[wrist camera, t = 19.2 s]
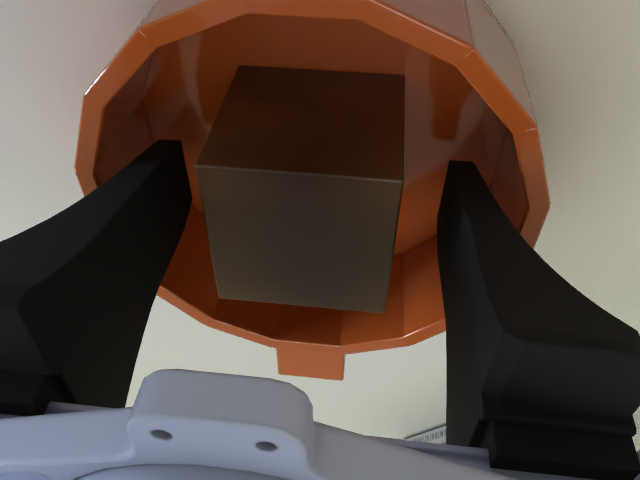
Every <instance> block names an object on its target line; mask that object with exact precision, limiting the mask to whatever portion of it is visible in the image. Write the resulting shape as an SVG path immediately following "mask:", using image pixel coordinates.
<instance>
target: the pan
mask: <svg viewBox="0 0 640 480" xmlns="http://www.w3.org/2000/svg"><path fill="white" fill-rule="evenodd" d="M238 66H255V67H272V68H288V69H304V70H321V71H337V72H353V73H369V74H386V75H402V76H405V127H404V184H403V191H402V198H401V205H400V212H399V219H398V226H397V234H396V241H395V248H394V255H393V262H392V269H391V276H390V283H389V290H388V297H387V304H386V311H385V313H375V312H364V311H354V310H343V309H332V308H321V307H311V306H300V305H289V304H278V303H268V302H257V301H246V300H235V299H225V298H219V295H218V289H217V284H216V279H215V273H214V268H213V262H212V257H211V252H210V246H209V241H208V236H207V230H206V225H205V220H204V214H203V209H202V204H201V198H200V193H199V188H198V182H197V177H196V172H195V163H196V161H197V159H198V156H199V154H200V152H201V149H202V147H203V145H204V143H205V140H206V138H207V136H208V134H209V131H210V129H211V127H212V125H213V122H214V120H215V118H216V116H217V113H218V111H219V109H220V107H221V104H222V102H223V100H224V98H225V95H226V93H227V91H228V89H229V86H230V84H231V82H232V80H233V77H234V75H235V73H236V71H237V68H238ZM159 139H163V140H177V141H181V143H182V148H183V153H184V158H185V163H186V168H187V173H188V178H189V183H190V188H191V193H192V198H193V199H192V203H191V207H190V211H189V215H188V218H187V222H186V225H185V229H184V231H183V234H182V236H181V239H180V241H179V243H178V246H177V248H176V250H175V252H174V255H173V257H172V259H171V262H170V264H169V266H168V268H167V271H166V273H165V275H164V278H163V280H162V282H161V284H160V287H159V289H158V291H157V294H156V295H157V296H159V297H161V298H162V299H164V300H165V301H167V302H169V303H170V304H172V305H173V306H175V307H177V308H178V309H180V310H181V311H183V312H185V313H186V314H188V315H189V316H191V317H193V318H194V319H196V320H197V321H199V322H201V323H202V324H204V325H207V326H208V327H211V328H214V329H217V330H220V331H223V332H226V333H229V334H232V335H235V336H238V337H241V338H244V339H247V340H250V341H253V342H256V343H259V344H262V345H265V346H268V347H273V348H276V353H277V365H278V373H279V374H282V375H292V376H302V377H312V378H321V379H331V380H343V378H344V368H345V357H346V354H353V353H360V352H367V351H375V350H382V349H390V348H397V347H405V346H410V345H414V344H416V343H418V342H421V341H423V340H425V339H428V338H430V337H433V336H435V335H437V334H440V333H442V332H444V331H446V322H445V313H444V305H443V297H442V289H441V281H440V273H439V264H438V256H437V216H438V211H439V206H440V201H441V197H442V192H443V187H444V182H445V177H446V172H447V168H448V163H449V160H456V161H470V162H473V163H474V164H475V165H476V167H477V169H478V170H479V172H480V174H481V176H482V178H483V179H484V181H485V183H486V185H487V186H488V188H489V190H490V191H491V193H492V195H493V196H494V198H495V199H496V201H497V202H498V204H499V205H500V207H501V208H502V210H503V211H504V213H505V214H506V216H507V217H508V218H509V220H510V221H511V223H512V224H513V225H514V227H515V228H516V229H517V230H518V232H519V233H520V234H521V235H522V237H523V238H524V239H525V240H526V242H527V243H528V244H529V245H530V246H531V247H532V249H534V247H535V244H536V241H537V239H538V236H539V234H540V231H541V229H542V226H543V224H544V221H545V218H546V216H547V213H548V211H549V208H550V197H549V191H548V185H547V179H546V173H545V167H544V161H543V155H542V149H541V143H540V137H539V131H538V126H537V122H536V119H535V115H534V112H533V108H532V105H531V101H530V98H529V94H528V91H527V87H526V84H525V80H524V77H523V73H522V70H521V67H520V63H519V60H518V56H517V53H516V49H515V48H514V45H513V43H512V42H511V41H510V40H509V38H508V37H507V36H506V34H505V33H504V31H503V29H502V28H501V26H500V24H499V23H498V21H497V20H496V18H495V17H494V15H493V14H492V12H491V11H490V9H489V7H488V6H487V5H486V4H485V3H484V1H483V0H158V1H157V2H156V4H155V5H154V6H153V7H152V9H151V10H150V11H149V12H148V13H147V15H146V16H145V17H144V18H143V20H142V21H141V22H140V23H139V25H138V26H137V27H136V28H135V30H134V31H133V32H132V33H131V35H130V36H129V37H128V39H127V40H126V41H125V42H124V44H123V45H122V46H121V47H120V49H119V50H118V51H117V53H116V54H115V55H114V56H113V58H112V59H111V60H110V61H109V63H108V64H107V65H106V67H105V68H104V69H103V70H102V72H101V73H100V74H99V75H98V77H97V78H96V79H95V81H94V82H93V83H92V84H91V86H90V87H89V88H88V89H87V91H86V92H85V95H84V96H83V103H82V111H81V118H80V126H79V134H78V142H77V150H76V158H75V166H74V168H75V173H76V176H77V178H78V181H79V184H80V186H81V189H82V192H83V194H84V197H85V196H86V195H88V194H89V193H91V192H92V191H93V190H95V189H96V188H98V187H99V186H100V185H102V184H103V183H105V182H106V181H107V180H109V179H110V178H111V177H113V176H114V175H115V174H116V173H118V172H119V171H120V170H121V169H123V168H124V167H125V166H126V165H128V164H129V163H130V162H131V161H133V160H134V159H135V158H136V157H138V156H139V155H140V154H141V153H142V152H144V151H145V150H146V149H147V148H149V147H150V146H151V145H152V144H154V143H155V142H156V141H158V140H159Z"/></svg>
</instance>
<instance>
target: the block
mask: <svg viewBox="0 0 640 480" xmlns="http://www.w3.org/2000/svg"><path fill="white" fill-rule="evenodd" d="M404 127H405V76H402V75H386V74H369V73H353V72H337V71H321V70H304V69H288V68H272V67H255V66H238V68H237V71H236V73H235V75H234V77H233V80H232V82H231V84H230V86H229V89H228V91H227V93H226V95H225V98H224V100H223V102H222V104H221V107H220V109H219V111H218V113H217V116H216V118H215V120H214V122H213V125H212V127H211V129H210V131H209V134H208V136H207V138H206V140H205V143H204V145H203V147H202V149H201V152H200V154H199V156H198V159H197V161H196V163H195V172H196V177H197V182H198V188H199V193H200V198H201V204H202V209H203V214H204V220H205V225H206V230H207V236H208V241H209V246H210V252H211V257H212V262H213V268H214V273H215V279H216V284H217V289H218V295H219V298H225V299H235V300H246V301H257V302H268V303H278V304H289V305H300V306H311V307H321V308H332V309H343V310H354V311H364V312H375V313H385V311H386V304H387V297H388V290H389V283H390V276H391V269H392V262H393V255H394V248H395V241H396V234H397V226H398V219H399V212H400V205H401V198H402V191H403V184H404Z"/></svg>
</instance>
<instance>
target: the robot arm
mask: <svg viewBox="0 0 640 480" xmlns="http://www.w3.org/2000/svg"><path fill="white" fill-rule="evenodd" d="M192 199H193V198H192V193H191V188H190V183H189V178H188V173H187V168H186V163H185V158H184V153H183V148H182V143H181V141H177V140H163V139H159V140H158V141H156V142H155V143H154V144H152V145H151V146H150V147H149V148H147V149H146V150H145V151H144V152H142V153H141V154H140V155H139V156H138V157H136V158H135V159H134V160H133V161H131V162H130V163H129V164H128V165H126V166H125V167H124V168H123V169H121V170H120V171H119V172H118V173H116V174H115V175H114V176H113V177H111V178H110V179H109V180H107V181H106V182H105V183H103V184H102V185H100V186H99V187H98V188H96V189H95V190H93V191H92V192H91V193H89V194H88V195H86V196H85V197H84V198H82V199H81V200H79V201H78V202H76V203H75V204H73V205H71V206H70V207H68V208H67V209H65V210H63V211H61V212H60V213H58V214H56V215H55V216H53V217H51V218H49V219H47V220H46V221H44V222H42V223H40V224H38V225H35V226H33V227H31V228H29V229H27V230H25V231H23V232H21V233H19V234H17V235H15V236H13V237H11V238H8V239H6V240H3V241H1V242H0V480H640V450H639V451H637V452H636V450H635V446H634V443H633V439H632V436H634V435H635V434H636V426H635V422H634V419H633V416H632V415H633V413H634V412H635V411H636V410H637V408H638V407H639V406H640V336H639V333H638V331H637V330H635V329H633V328H632V327H630V326H629V325H627V324H626V323H624V322H622V321H621V320H619V319H618V318H616V317H614V316H613V315H611V314H610V313H608V312H606V311H605V310H603V309H602V308H601V307H599V306H598V305H596V304H595V303H594V302H592V301H591V300H590V299H588V298H587V297H586V296H584V295H583V294H582V293H580V292H579V291H578V290H577V289H575V288H574V287H573V286H572V285H570V284H569V283H568V282H567V281H566V280H565V279H563V278H562V277H561V276H560V275H559V274H558V273H557V272H555V271H554V270H553V269H552V268H551V267H550V266H549V265H548V264H547V263H546V262H545V261H544V260H543V259H542V258H541V257H540V256H539V255H538V254H537V253H536V252H535V251H534V250H533V249H532V247H531V246H530V245H529V244H528V243H527V242H526V240H525V239H524V238H523V237H522V235H521V234H520V233H519V232H518V230H517V229H516V228H515V227H514V225H513V224H512V223H511V221H510V220H509V218H508V217H507V216H506V214H505V213H504V211H503V210H502V208H501V207H500V205H499V204H498V202H497V201H496V199H495V198H494V196H493V195H492V193H491V191H490V190H489V188H488V186H487V185H486V183H485V181H484V179H483V178H482V176H481V174H480V172H479V170H478V169H477V167H476V165H475V164H474V163H473V162H470V161H456V160H449V163H448V168H447V172H446V177H445V182H444V187H443V192H442V197H441V201H440V206H439V211H438V216H437V256H438V264H439V273H440V281H441V289H442V297H443V305H444V313H445V322H446V352H447V406H446V444H438V443H429V442H420V441H411V440H401V439H392V438H383V437H374V436H365V435H361V434H357V433H354V432H350V431H347V430H343V429H339V428H336V427H332V426H329V425H325V424H322V423H318V422H315V421H313V406H312V404H311V402H310V400H309V398H308V396H307V395H306V394H305V393H304V392H303V391H301V390H300V389H298V388H297V387H295V386H293V385H292V384H290V383H287V382H283V381H279V380H275V379H271V378H262V377H252V376H242V375H232V374H223V373H213V372H203V371H193V370H184V369H166V370H158V371H155V372H153V373H152V374H150V375H148V376H147V377H145V378H144V379H143V381H142V384H141V387H140V389H139V392H138V395H137V397H136V400H135V402H134V405H133V407H127V408H125V405H126V400H127V396H128V392H129V387H130V383H131V379H132V375H133V371H134V367H135V363H136V359H137V356H138V352H139V348H140V345H141V341H142V338H143V334H144V331H145V327H146V324H147V321H148V317H149V314H150V311H151V307H152V304H153V302H154V299H155V296H156V294H157V291H158V289H159V287H160V284H161V282H162V280H163V278H164V275H165V273H166V271H167V268H168V266H169V264H170V262H171V259H172V257H173V255H174V252H175V250H176V248H177V246H178V243H179V241H180V239H181V236H182V234H183V231H184V229H185V225H186V222H187V218H188V215H189V211H190V207H191V203H192Z"/></svg>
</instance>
